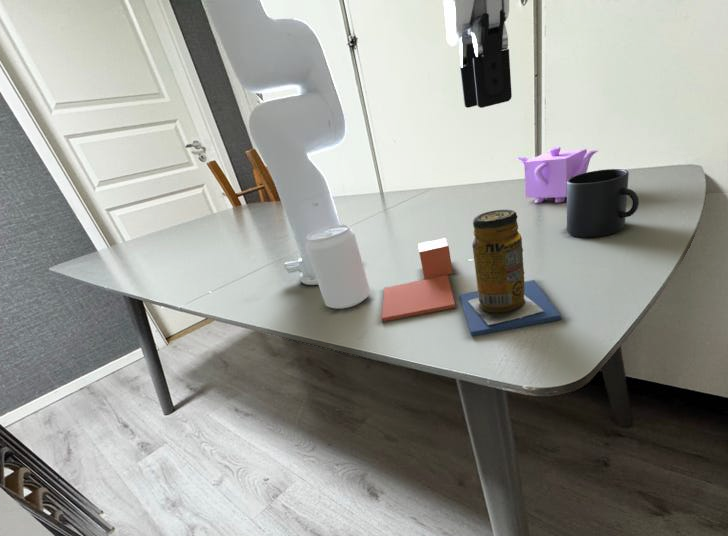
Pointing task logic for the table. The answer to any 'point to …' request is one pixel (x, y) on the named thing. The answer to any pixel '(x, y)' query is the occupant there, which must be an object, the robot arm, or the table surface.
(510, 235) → the condiment
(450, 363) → the table surface
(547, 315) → the slate mat
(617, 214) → the mug
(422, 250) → the terracotta block
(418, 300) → the terracotta mat
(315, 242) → the beverage can
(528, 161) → the teapot
